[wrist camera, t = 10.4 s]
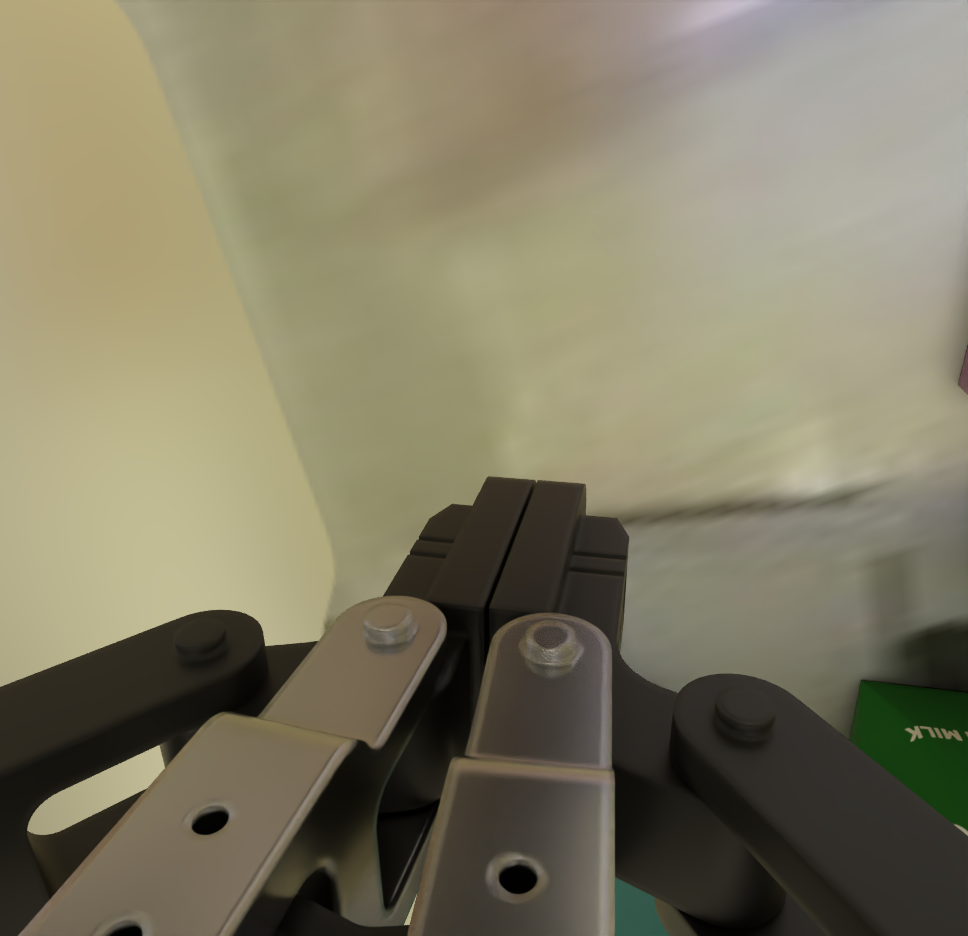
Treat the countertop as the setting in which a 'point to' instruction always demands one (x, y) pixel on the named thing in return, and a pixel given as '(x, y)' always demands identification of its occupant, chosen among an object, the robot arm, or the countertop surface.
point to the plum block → (964, 375)
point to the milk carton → (918, 741)
